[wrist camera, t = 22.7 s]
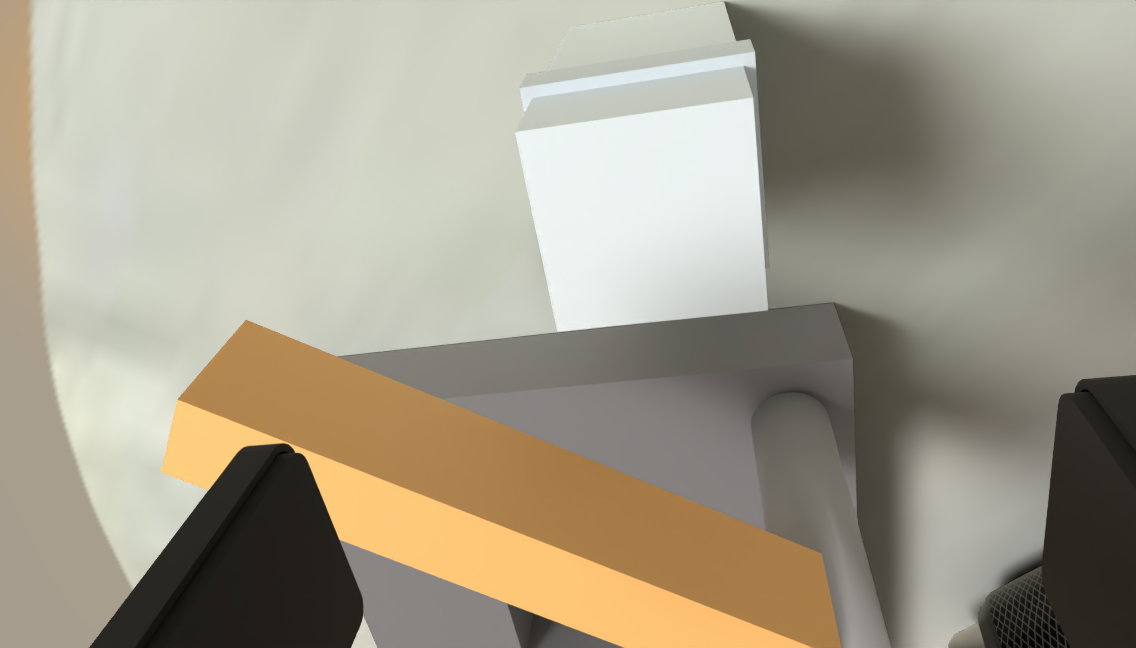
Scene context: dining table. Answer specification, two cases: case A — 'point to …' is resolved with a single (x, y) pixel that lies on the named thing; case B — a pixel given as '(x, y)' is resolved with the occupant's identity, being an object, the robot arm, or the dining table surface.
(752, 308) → the plug
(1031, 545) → the dining table surface
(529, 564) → the try square
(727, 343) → the socket block
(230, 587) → the robot arm
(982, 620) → the muzzle brake
